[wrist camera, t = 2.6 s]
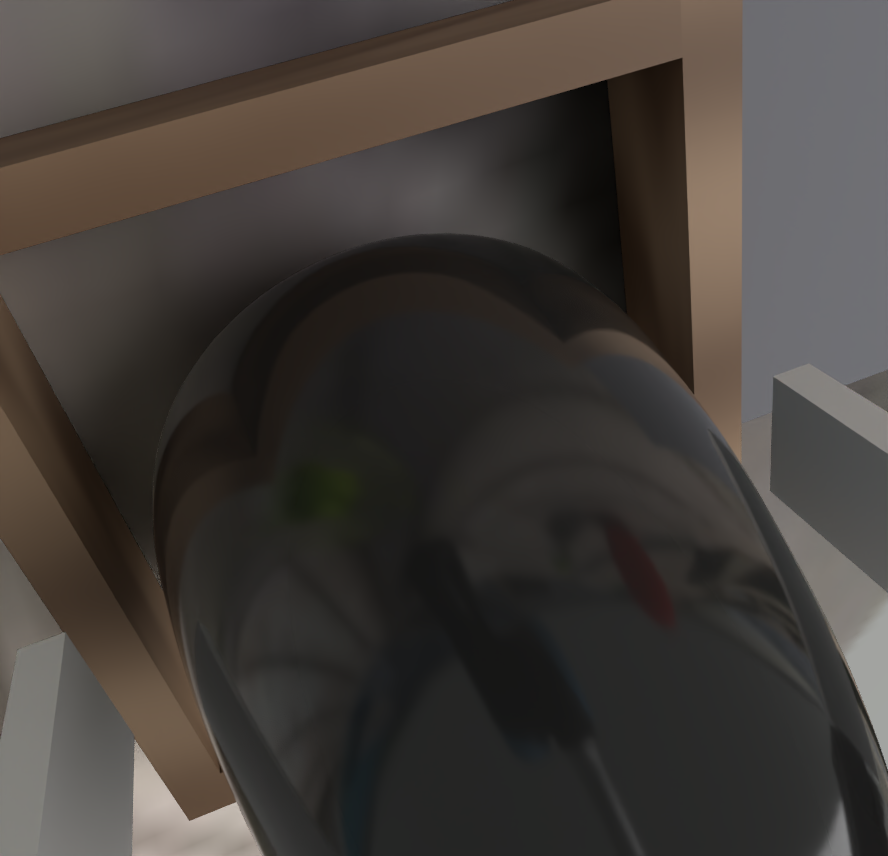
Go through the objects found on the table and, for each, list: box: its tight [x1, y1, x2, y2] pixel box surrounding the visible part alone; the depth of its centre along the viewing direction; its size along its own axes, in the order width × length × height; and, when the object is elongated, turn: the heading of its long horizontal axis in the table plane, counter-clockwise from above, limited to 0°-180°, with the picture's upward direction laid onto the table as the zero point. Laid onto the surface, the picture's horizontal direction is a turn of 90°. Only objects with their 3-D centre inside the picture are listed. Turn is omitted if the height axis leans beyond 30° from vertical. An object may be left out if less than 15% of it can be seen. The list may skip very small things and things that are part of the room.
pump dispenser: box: [152, 233, 888, 856], centre depth 13 cm, size 10×10×15 cm
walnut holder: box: [0, 0, 743, 821], centre depth 18 cm, size 15×15×3 cm
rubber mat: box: [741, 0, 888, 423], centre depth 20 cm, size 12×11×1 cm
